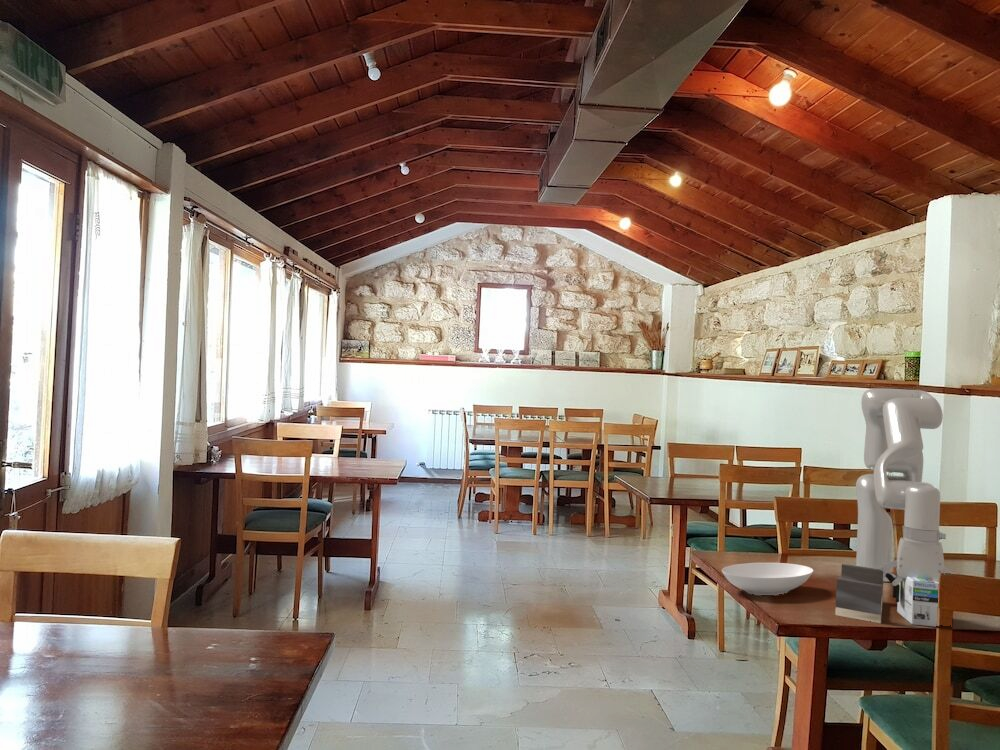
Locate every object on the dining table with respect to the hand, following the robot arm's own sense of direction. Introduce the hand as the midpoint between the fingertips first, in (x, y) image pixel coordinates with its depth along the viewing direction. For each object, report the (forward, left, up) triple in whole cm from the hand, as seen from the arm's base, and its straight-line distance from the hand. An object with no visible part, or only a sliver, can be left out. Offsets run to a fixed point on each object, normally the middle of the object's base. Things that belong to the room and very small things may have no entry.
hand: (918, 604), depth 175 cm
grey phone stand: (0, -13, -4) cm, 14 cm away
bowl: (-1, -36, -4) cm, 36 cm away
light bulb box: (0, 0, -4) cm, 4 cm away
